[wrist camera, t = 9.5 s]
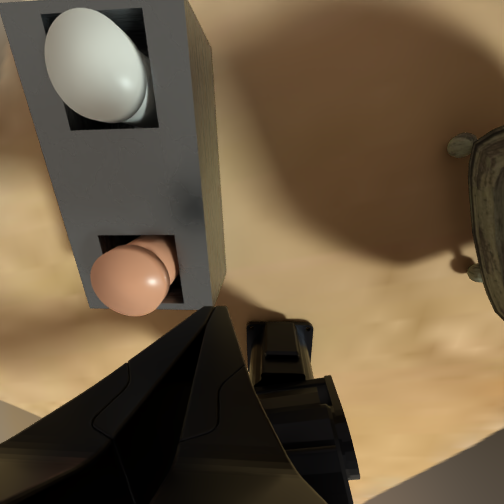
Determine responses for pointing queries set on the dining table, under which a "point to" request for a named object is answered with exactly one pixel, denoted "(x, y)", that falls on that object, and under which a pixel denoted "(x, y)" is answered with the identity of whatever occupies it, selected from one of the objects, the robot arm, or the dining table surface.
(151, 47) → the press block
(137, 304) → the terracotta plunger
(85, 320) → the dining table surface
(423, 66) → the dining table surface
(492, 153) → the tabletop clock
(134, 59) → the plunger
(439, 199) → the dining table surface
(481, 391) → the dining table surface
